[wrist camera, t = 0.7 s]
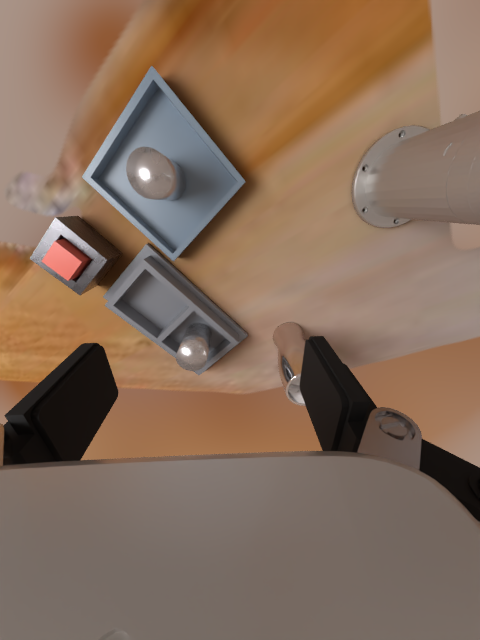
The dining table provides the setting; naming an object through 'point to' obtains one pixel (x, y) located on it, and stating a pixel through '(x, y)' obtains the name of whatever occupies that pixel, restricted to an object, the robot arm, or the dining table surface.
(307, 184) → the dining table surface
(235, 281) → the dining table surface
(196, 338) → the seated billet
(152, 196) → the billet
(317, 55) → the dining table surface
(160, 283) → the grey divided tray
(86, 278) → the box
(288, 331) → the beer glass
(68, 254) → the button
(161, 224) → the tray
